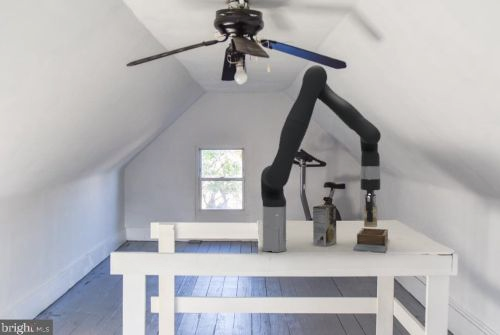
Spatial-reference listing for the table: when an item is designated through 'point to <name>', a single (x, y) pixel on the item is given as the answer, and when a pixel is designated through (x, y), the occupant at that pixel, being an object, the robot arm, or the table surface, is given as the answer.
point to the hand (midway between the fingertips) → (370, 220)
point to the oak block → (374, 223)
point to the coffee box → (324, 225)
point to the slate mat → (371, 248)
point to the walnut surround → (372, 237)
